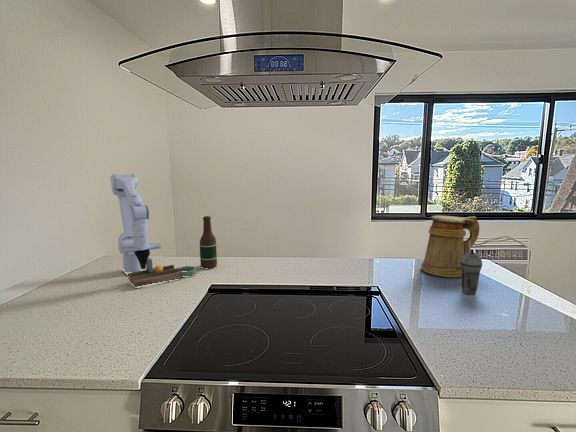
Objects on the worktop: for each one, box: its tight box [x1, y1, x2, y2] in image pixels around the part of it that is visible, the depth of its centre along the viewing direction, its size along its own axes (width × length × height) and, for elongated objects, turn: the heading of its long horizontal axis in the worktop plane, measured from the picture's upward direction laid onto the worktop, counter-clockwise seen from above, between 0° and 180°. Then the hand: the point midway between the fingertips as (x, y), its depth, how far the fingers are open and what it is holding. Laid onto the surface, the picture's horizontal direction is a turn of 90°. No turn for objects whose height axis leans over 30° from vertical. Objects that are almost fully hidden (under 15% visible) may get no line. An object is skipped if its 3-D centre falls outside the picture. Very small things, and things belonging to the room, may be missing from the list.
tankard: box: [420, 215, 480, 278], centre depth 154 cm, size 18×24×25 cm
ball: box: [153, 264, 164, 272], centre depth 146 cm, size 4×4×4 cm
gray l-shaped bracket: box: [145, 257, 154, 274], centre depth 144 cm, size 4×2×7 cm, turn 38°
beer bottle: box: [199, 215, 218, 269], centre depth 162 cm, size 8×8×24 cm
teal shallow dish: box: [178, 265, 197, 277], centre depth 154 cm, size 8×8×2 cm
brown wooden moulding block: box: [128, 264, 182, 287], centre depth 145 cm, size 10×18×4 cm, turn 128°
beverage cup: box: [460, 241, 483, 296], centre depth 129 cm, size 7×7×20 cm
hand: (143, 268), depth 142 cm, fingers closed
